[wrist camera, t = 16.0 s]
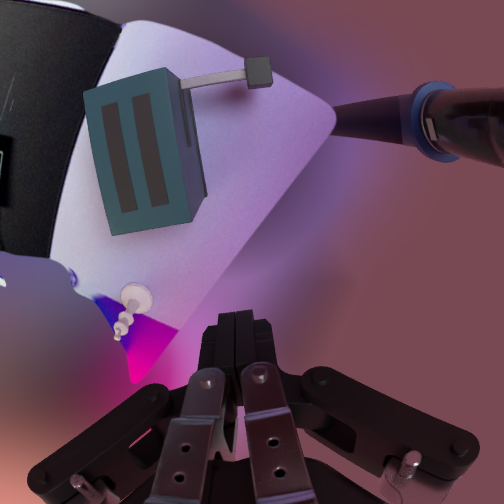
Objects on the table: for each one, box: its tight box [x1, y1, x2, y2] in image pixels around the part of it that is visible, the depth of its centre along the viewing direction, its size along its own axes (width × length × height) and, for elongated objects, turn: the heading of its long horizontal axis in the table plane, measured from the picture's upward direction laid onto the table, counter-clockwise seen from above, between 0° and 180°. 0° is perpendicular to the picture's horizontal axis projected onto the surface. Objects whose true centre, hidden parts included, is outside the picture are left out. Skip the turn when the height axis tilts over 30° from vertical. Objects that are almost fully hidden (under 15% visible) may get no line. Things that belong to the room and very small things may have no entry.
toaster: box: [83, 67, 208, 236], centre depth 30 cm, size 8×14×12 cm, turn 8°
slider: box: [180, 56, 273, 90], centre depth 28 cm, size 9×3×3 cm, turn 98°
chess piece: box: [114, 283, 153, 341], centre depth 39 cm, size 5×5×10 cm
